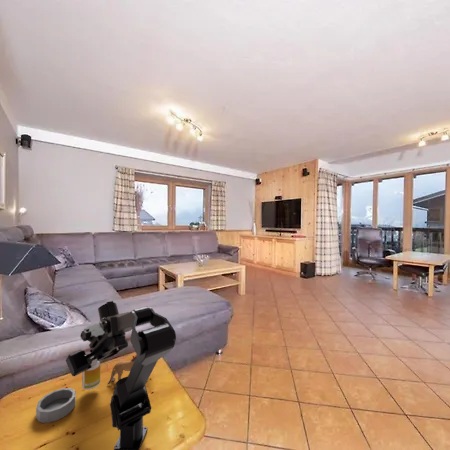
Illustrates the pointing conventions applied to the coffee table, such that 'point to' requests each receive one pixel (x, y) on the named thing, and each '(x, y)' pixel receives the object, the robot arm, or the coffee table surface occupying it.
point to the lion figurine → (121, 368)
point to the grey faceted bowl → (55, 405)
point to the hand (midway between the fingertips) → (89, 363)
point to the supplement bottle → (91, 376)
